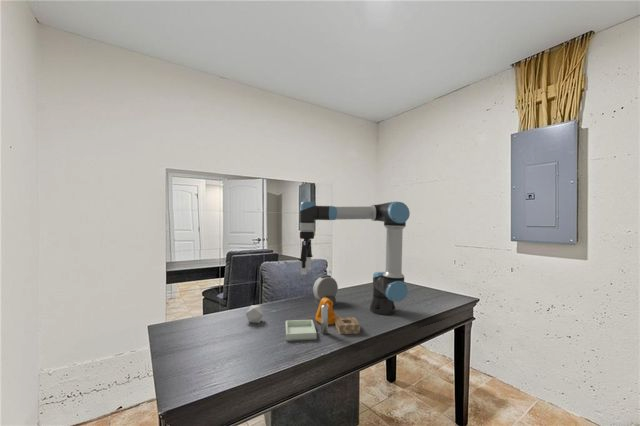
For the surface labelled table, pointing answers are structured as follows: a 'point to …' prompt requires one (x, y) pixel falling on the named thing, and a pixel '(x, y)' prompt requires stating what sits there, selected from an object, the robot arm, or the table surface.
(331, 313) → the bracket
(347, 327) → the bore block
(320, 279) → the alarm clock
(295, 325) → the tray
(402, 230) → the robot arm
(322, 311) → the cylinder
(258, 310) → the die
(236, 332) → the table surface
